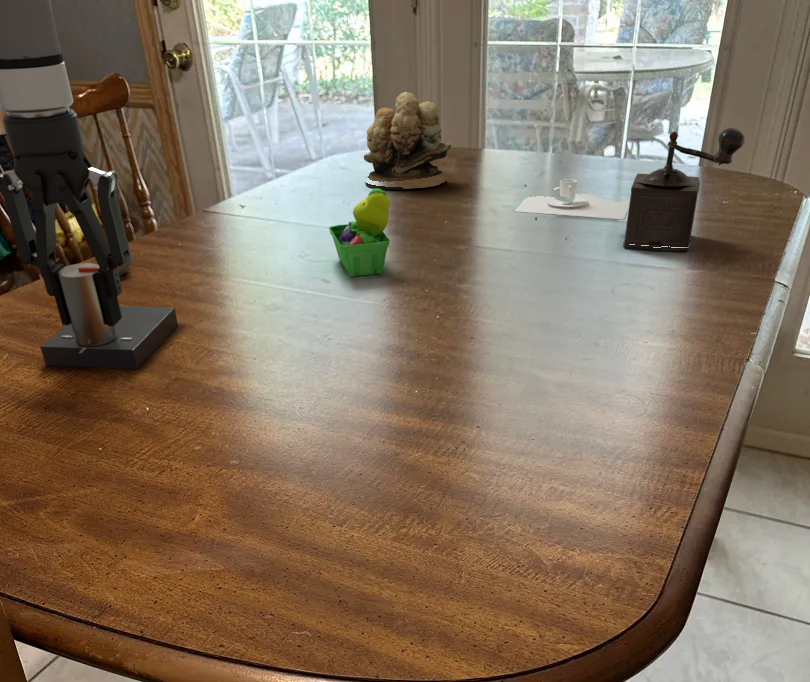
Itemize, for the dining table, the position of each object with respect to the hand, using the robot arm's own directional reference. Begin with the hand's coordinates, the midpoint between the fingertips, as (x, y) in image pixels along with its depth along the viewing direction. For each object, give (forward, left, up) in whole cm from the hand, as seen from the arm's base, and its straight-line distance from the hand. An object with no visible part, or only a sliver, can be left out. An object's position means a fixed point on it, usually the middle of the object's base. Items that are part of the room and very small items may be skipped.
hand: (92, 321), depth 101 cm
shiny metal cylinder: (0, 0, -2) cm, 2 cm away
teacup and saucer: (+61, +77, -5) cm, 99 cm away
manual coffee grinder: (+76, +52, -5) cm, 92 cm away
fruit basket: (+27, +37, -5) cm, 46 cm away
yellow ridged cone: (-11, +30, -5) cm, 32 cm away
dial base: (0, +4, -5) cm, 6 cm away
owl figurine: (+27, +90, -5) cm, 94 cm away
